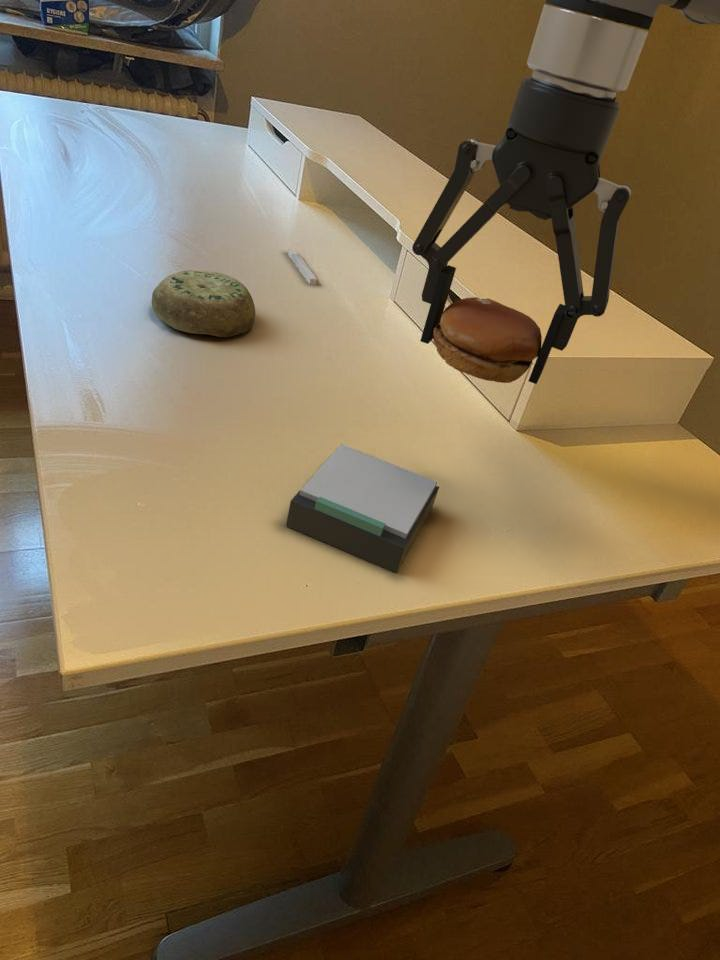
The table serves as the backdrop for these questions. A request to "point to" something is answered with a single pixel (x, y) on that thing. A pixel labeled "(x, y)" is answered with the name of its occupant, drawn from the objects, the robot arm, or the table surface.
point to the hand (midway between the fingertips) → (481, 357)
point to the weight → (204, 303)
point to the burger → (487, 339)
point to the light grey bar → (302, 267)
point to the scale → (364, 506)
